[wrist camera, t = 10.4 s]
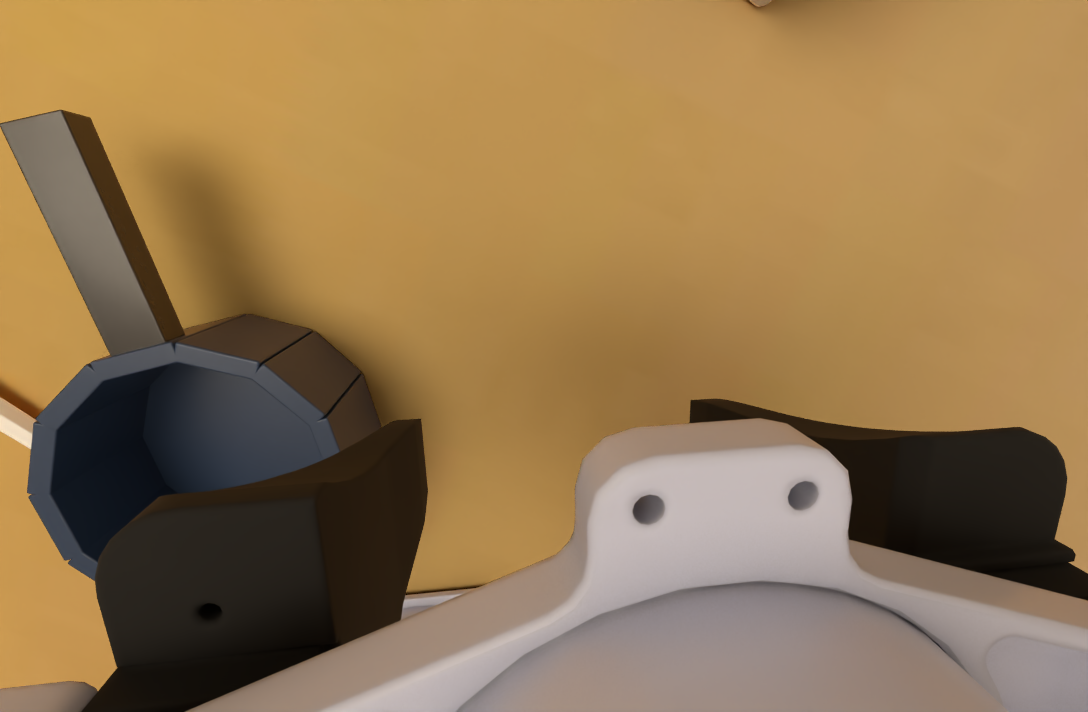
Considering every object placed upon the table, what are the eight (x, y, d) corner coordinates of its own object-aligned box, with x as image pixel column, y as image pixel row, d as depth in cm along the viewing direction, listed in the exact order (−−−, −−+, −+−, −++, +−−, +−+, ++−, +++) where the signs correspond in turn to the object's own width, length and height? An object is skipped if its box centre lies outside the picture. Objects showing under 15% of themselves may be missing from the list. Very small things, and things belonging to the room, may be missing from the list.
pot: (406, 497, 25) (385, 571, 19) (193, 554, 24) (112, 647, 19) (272, 112, 20) (197, 72, 15) (6, 173, 20) (-169, 155, 14)
